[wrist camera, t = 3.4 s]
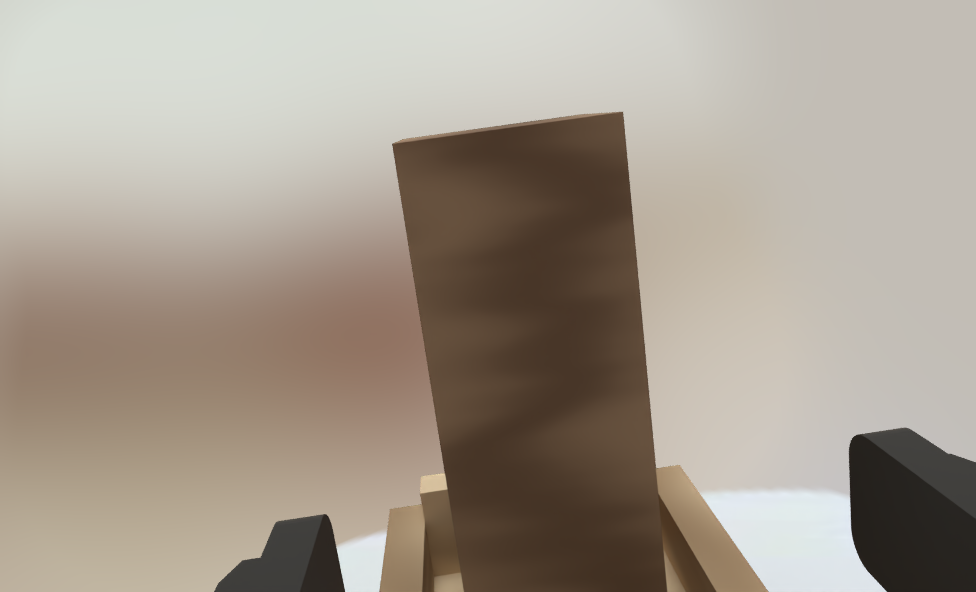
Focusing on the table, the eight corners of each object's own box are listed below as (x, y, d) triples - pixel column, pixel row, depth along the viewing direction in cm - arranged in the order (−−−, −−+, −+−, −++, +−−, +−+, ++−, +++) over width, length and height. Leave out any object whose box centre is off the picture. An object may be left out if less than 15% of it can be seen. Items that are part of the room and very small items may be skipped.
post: (481, 699, 20) (392, 143, 16) (472, 585, 24) (403, 139, 21) (674, 669, 20) (622, 111, 17) (628, 561, 25) (581, 114, 21)
